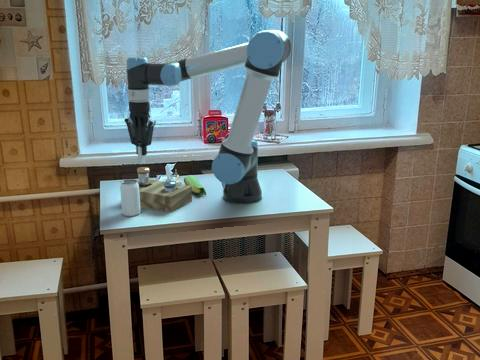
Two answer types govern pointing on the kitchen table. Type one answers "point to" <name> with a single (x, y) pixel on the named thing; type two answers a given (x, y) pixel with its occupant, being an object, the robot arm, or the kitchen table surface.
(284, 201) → the kitchen table surface
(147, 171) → the copper lidded jar
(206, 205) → the kitchen table surface
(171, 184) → the salt shaker
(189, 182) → the edible corn
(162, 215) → the kitchen table surface
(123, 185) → the can
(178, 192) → the oak block
